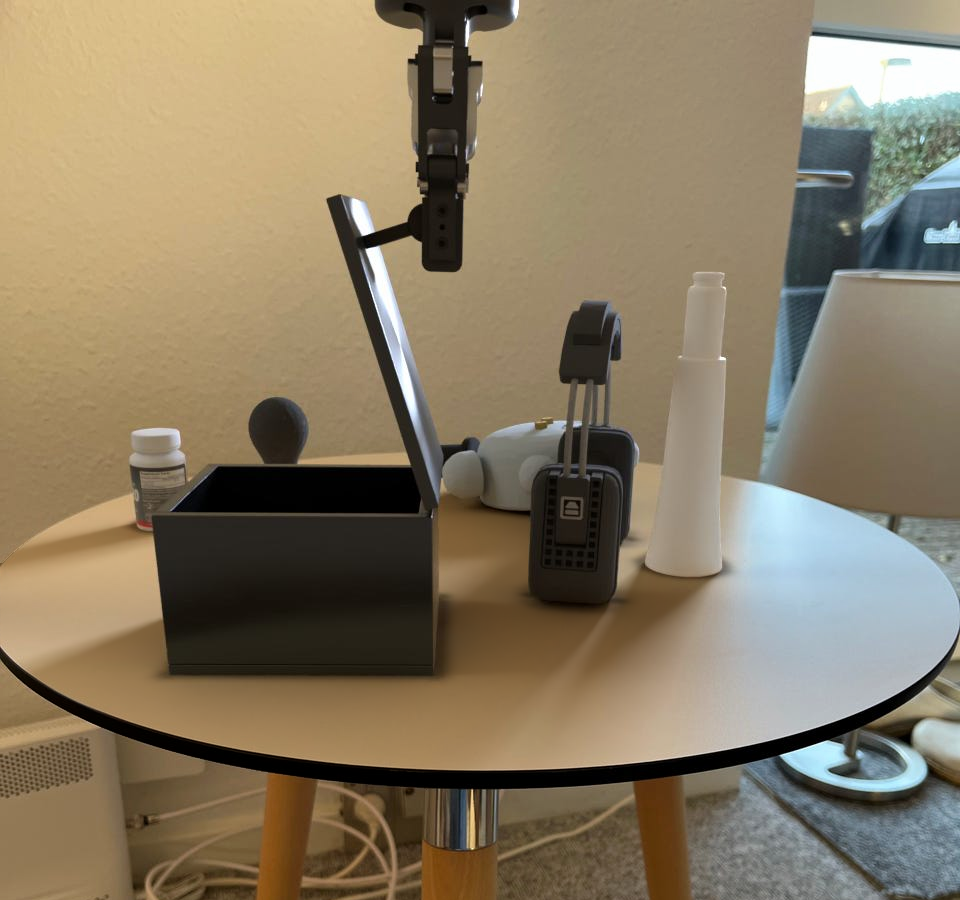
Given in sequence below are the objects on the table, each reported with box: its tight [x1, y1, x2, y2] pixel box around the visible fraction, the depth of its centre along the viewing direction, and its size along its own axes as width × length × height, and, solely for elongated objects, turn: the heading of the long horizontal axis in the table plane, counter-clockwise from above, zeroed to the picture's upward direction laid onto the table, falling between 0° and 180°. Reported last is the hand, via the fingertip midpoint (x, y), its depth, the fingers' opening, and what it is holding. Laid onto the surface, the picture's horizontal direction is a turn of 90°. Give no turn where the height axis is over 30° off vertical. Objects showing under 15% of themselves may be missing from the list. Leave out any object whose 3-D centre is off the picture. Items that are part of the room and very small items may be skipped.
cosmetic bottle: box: [644, 271, 728, 578], centre depth 77 cm, size 6×6×22 cm
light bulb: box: [247, 396, 310, 464], centre depth 97 cm, size 6×6×10 cm
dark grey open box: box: [151, 463, 440, 677], centre depth 65 cm, size 16×14×10 cm
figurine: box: [440, 416, 640, 512], centre depth 99 cm, size 17×8×20 cm
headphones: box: [527, 300, 635, 605], centre depth 77 cm, size 22×6×20 cm, turn 169°
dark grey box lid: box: [325, 193, 443, 511], centre depth 59 cm, size 17×14×5 cm
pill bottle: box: [128, 427, 189, 532], centre depth 89 cm, size 5×5×8 cm
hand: (443, 268), depth 58 cm, fingers closed on dark grey box lid, 5 cm apart
